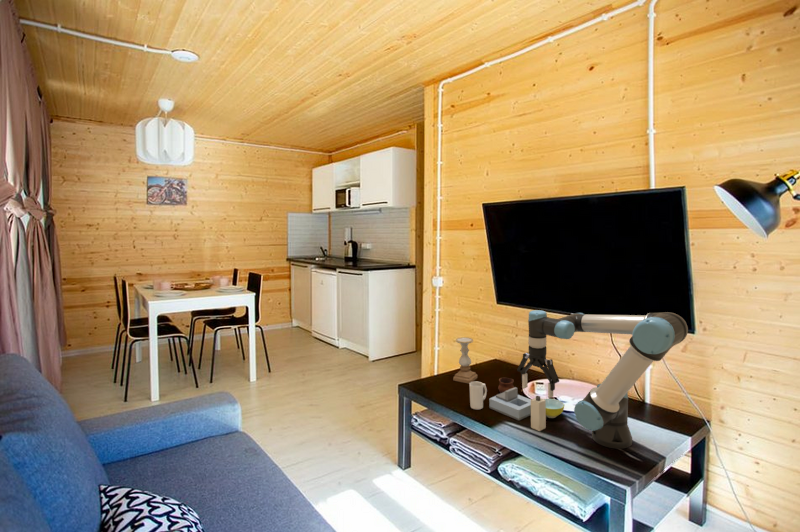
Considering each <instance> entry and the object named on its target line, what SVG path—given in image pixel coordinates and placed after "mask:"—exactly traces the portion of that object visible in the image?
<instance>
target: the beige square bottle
mask: <svg viewBox="0 0 800 532" xmlns="http://www.w3.org/2000/svg"><path fill="white" fill-rule="evenodd" d="M530 399H531V398H530ZM544 399H545V398H542V397H541V396H540V395H535V397H534V398H532V399H531V415H530V428H531V429H533V430H536V431H538V432H541V431H543V430H545V429H546V427H547V426H546V425H547V424H546V423H547V421H546V420H547V416H546V400H544Z"/></svg>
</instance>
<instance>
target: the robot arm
mask: <svg viewBox="0 0 800 532" xmlns="http://www.w3.org/2000/svg"><path fill="white" fill-rule="evenodd" d="M527 322H528V352H524V353H523V354H522V359H521V361H520V362H519V365H518V367H517V369H516V370H517V372H519V373H520V380H521V383H522V384H521V385H522V386H521V388H522V390H523V389H526V388H528V373H527V371H529V370H530V368H532V366H533V367H537V368H540V370H542V372H543V374H544V375H545V377H546V379H547V380H548V383H547V399H552V398H553V397H554V391H555V390H556V384H557V383H559V382H560V378H559V377H558V374H557V372H556V369H555V367H554V361H553V359H552V358H551V359H547V357H546V356H547V336H551V337H554V338H558V339H561V340H562V339H563V340H570V339H571V338H573V336H574V334H575V333H595V334H596V333H597V334H614V335H615V334H616V335H631V337H630V339H629V340H628V341H629V342H628V343H629V347H628V349H627V350H626V351H625V352H624V354H623V355H622V356H621V358H620V359H619V360H618V361H617V363H616V364H615V365H614V367H613V368H612V369H611V370H610V371H609V373H608V374H607V375H606V377H605V378H604V379H603V380H602V382H601V383H598V384H597V385H596V387H592V388H591V389H590V390H589V392H588V393H587V394H586V395H585V396H584V398H583V399H581V400H579V401H577V403H576V404H575V405H574V408H573V413H574V415H575V419H576V420H577V422H578V423H579V424H580V425H581V426H582V427H583V428H584V429H586V430H588V431H591V438H592V440H593V441H594V442H595V443H596V444H598V445H601V446H602V447H603V446H604V447H606V448H610V449H616V450H617V449H627V448H629V447H631V446H632V445H633V436H632V433H631V431H630V426H629V424H628V423H629V422H628V416H629V414H628V411H629V391H630V390H631V388H633V386H634V385H635V384H636V383H637V382H638V380H639V379H640V378H641V377H642V376H643V374H644V373H645V372H646V371H647V369H648V368H649V367H650V366H651V365H652V364H653V362H660V361H662V360H663V358H664V357H665V356H666V355H667V353H669V351H670V350H671V349H672V348H673V347H674V346H676V345H678V344H680V343H682V342H683V341H684V340H685V339H686V337H687V336H688V332H689V327H688V325H687V322H686V320H685V319H684V318H683V317H682V316H680V315H679V314H676V313H674V312H668V311H667V312H666V311H665V312H649V313H648V312H647V314H646V315H645V314H644V315H641V314H637V315H635V314H631V315H630V314H589V313H588V314H585V313H583V312H575V313H574V312H573V313H572V314H570V315H566V316H562V317H559V318H555V317H554V318H553V317H548V316H547V312H546V311H544V310H540V309H539V310H538V309H535V310H530V311H529V312H528V321H527ZM528 359H529V362H527V361H528ZM526 363H527V364H526Z"/></svg>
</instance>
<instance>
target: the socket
mask: <svg viewBox="0 0 800 532" xmlns="http://www.w3.org/2000/svg"><path fill="white" fill-rule="evenodd" d="M488 401H489V402H488V403H489V406H488V407H489V409H491V410H492V411H493V410H494V411H496V412H497V413H500V414H502V415H505V416H507V417H510V418H512V419H514V420H516V421H521V420H523V419H525V418H528V417H529V416H530V417H531V398H528V397H526V396H523V395H520V394H518V397H517V398H515V399H513V400H510V401H508V402H507V401H505V400H502V399H500V398H497V397H496V395H494V396H492V397H490V398H489V399H488Z"/></svg>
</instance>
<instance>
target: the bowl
mask: <svg viewBox="0 0 800 532" xmlns="http://www.w3.org/2000/svg"><path fill="white" fill-rule="evenodd" d="M543 399H544V400H546V418H549V419H555V418H557V417H559V415H561V414H562V413H563V412H564V409H565V404H564V402H562V401H561V400H558V399H554V398H543Z"/></svg>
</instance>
